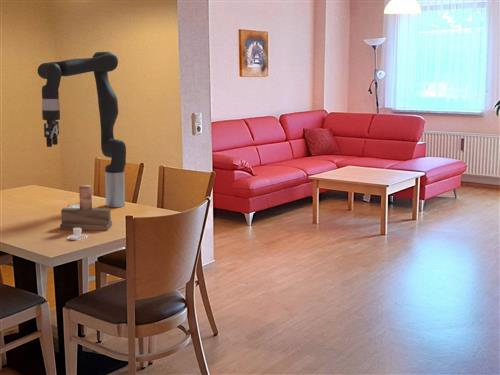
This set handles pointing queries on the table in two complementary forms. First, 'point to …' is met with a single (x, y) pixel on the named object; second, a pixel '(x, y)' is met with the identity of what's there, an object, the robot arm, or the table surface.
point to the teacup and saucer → (76, 234)
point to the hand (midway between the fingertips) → (52, 145)
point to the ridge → (86, 219)
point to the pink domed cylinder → (85, 197)
